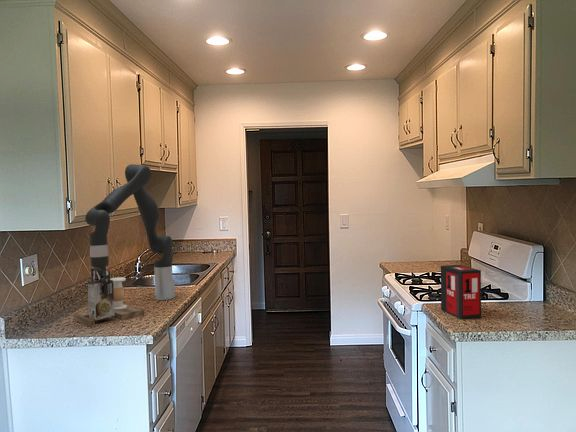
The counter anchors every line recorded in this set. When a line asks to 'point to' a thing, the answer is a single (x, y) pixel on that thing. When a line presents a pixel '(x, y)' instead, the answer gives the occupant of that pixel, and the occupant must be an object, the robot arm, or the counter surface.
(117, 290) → the bobbin
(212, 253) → the counter surface
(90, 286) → the coffee box
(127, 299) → the counter surface
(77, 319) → the notched board
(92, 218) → the robot arm
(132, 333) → the counter surface
